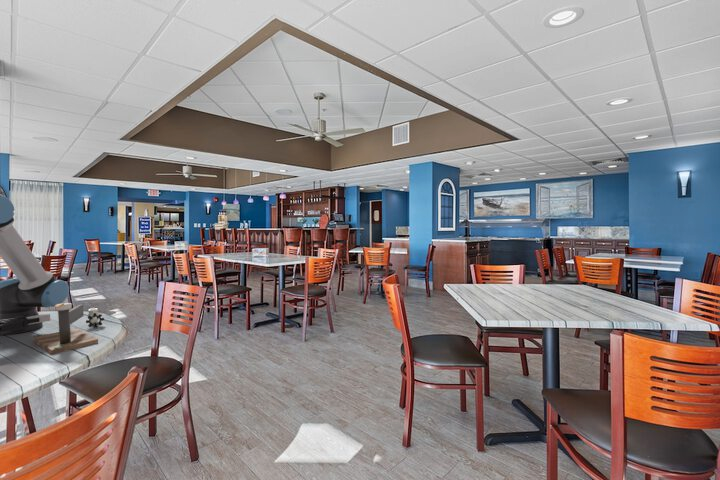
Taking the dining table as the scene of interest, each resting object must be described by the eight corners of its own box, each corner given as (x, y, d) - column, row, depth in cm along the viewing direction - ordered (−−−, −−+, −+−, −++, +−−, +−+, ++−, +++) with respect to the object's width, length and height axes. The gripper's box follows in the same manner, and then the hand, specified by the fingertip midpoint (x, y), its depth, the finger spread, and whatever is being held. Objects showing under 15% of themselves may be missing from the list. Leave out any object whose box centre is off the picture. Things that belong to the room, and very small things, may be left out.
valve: (84, 323, 160) (86, 329, 151) (83, 309, 160) (85, 314, 151) (102, 320, 164) (104, 326, 155) (101, 307, 164) (104, 312, 155)
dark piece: (75, 330, 145) (73, 295, 144) (89, 328, 146) (87, 294, 145) (50, 347, 124) (47, 307, 123) (66, 346, 126) (64, 306, 125)
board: (33, 341, 136) (33, 336, 136) (77, 331, 148) (76, 327, 148) (52, 354, 122) (51, 349, 122) (98, 342, 134) (98, 338, 134)
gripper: (-45, 340, 119) (45, 323, 138) (-38, 348, 112) (55, 329, 131) (-46, 319, 118) (43, 305, 138) (-40, 326, 111) (54, 310, 131)
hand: (49, 316), depth 135 cm, fingers closed
